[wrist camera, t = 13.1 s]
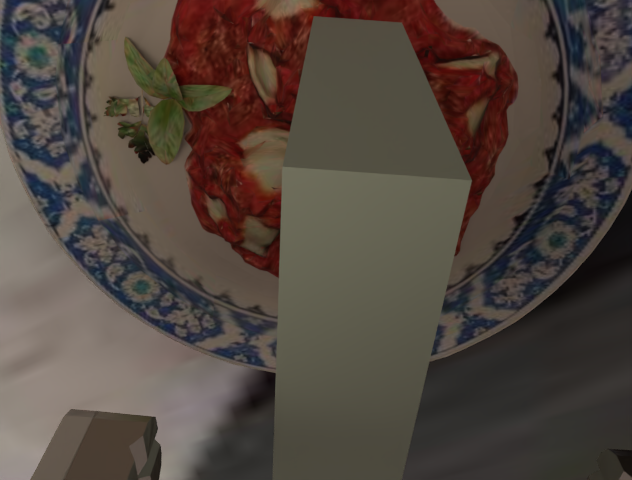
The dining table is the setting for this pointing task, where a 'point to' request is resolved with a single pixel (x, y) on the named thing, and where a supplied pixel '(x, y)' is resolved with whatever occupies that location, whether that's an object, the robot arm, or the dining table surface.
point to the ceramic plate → (271, 141)
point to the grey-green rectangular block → (361, 253)
